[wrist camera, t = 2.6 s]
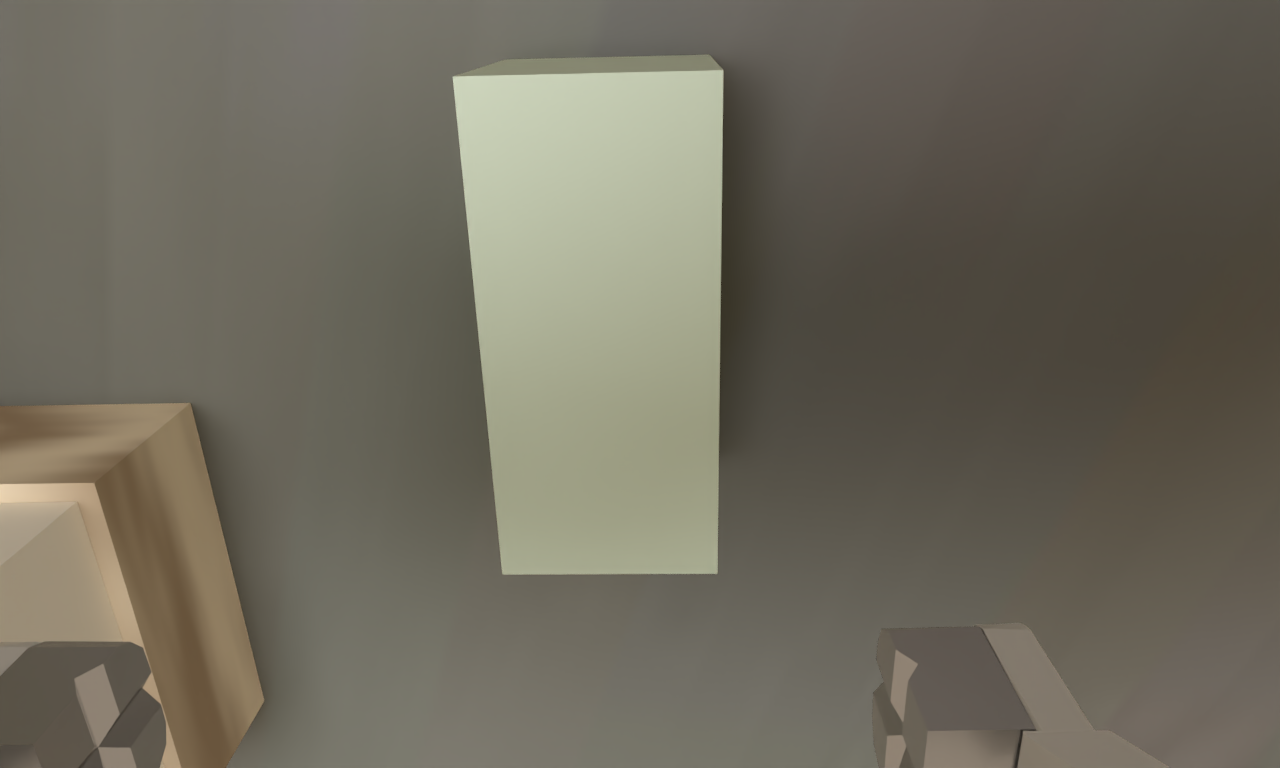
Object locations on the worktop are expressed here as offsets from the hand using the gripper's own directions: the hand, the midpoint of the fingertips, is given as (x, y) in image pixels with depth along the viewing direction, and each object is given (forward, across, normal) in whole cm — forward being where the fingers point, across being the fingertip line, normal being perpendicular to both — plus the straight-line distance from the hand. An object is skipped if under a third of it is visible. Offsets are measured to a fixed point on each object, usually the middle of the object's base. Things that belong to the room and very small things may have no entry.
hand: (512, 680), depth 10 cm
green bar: (+15, -1, 0) cm, 16 cm away
